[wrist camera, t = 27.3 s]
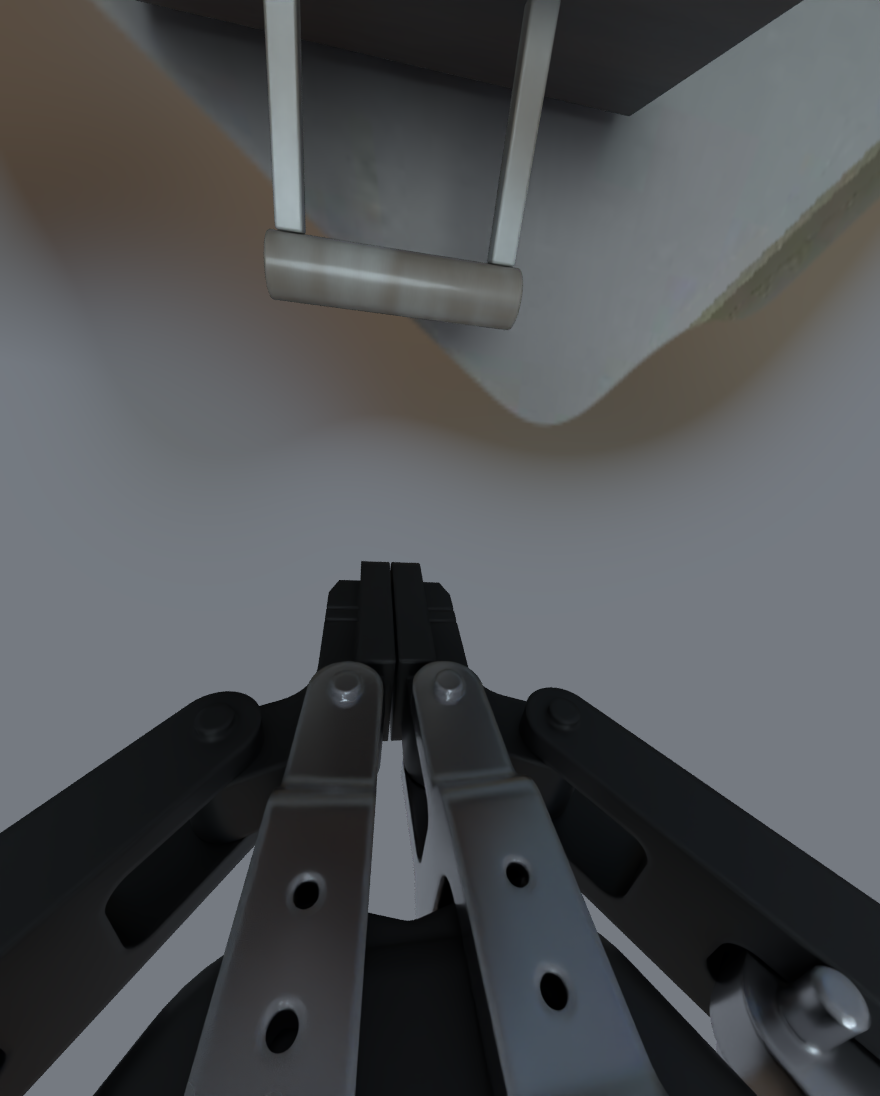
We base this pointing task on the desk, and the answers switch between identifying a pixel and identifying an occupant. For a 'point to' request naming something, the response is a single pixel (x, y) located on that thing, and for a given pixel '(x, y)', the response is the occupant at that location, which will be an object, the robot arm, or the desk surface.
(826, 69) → the desk surface
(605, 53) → the drawer
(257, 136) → the desk surface
